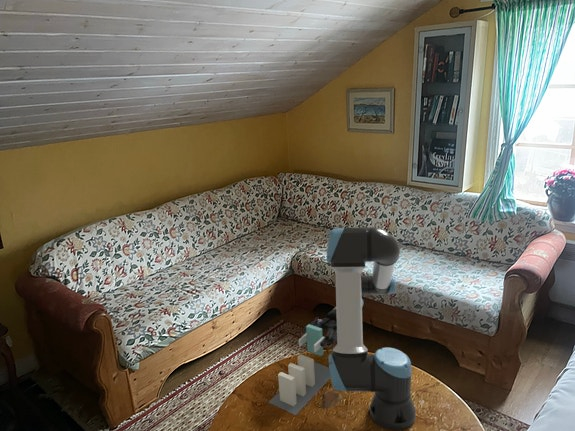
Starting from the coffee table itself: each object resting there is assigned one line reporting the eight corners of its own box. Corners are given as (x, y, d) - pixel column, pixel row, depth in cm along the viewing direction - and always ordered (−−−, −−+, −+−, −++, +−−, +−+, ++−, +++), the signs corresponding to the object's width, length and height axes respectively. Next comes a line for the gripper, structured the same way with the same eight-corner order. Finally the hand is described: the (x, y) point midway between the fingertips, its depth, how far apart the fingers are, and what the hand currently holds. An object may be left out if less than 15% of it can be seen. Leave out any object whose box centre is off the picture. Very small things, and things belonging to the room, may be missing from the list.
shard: (322, 416, 159) (322, 411, 158) (308, 404, 165) (308, 400, 164) (345, 401, 165) (345, 397, 164) (330, 390, 171) (330, 386, 170)
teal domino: (323, 353, 175) (322, 328, 171) (320, 356, 173) (319, 330, 170) (310, 348, 178) (308, 324, 174) (307, 351, 177) (306, 326, 173)
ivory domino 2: (306, 393, 168) (304, 368, 164) (303, 396, 166) (301, 370, 163) (292, 387, 171) (290, 362, 168) (289, 390, 170) (288, 365, 166)
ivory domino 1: (296, 403, 163) (294, 377, 160) (293, 406, 162) (291, 380, 158) (283, 397, 167) (281, 371, 163) (280, 400, 165) (277, 374, 162)
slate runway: (337, 372, 179) (337, 370, 179) (295, 417, 158) (295, 415, 158) (311, 363, 186) (311, 360, 186) (268, 404, 165) (268, 402, 165)
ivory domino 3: (315, 384, 172) (313, 359, 169) (312, 387, 171) (311, 361, 168) (301, 378, 176) (300, 354, 172) (299, 381, 174) (297, 356, 171)
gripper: (359, 331, 183) (329, 362, 166) (319, 318, 194) (287, 346, 176) (359, 315, 181) (328, 345, 163) (318, 302, 191) (285, 329, 174)
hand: (307, 345), depth 170 cm, fingers closed on teal domino, 6 cm apart
